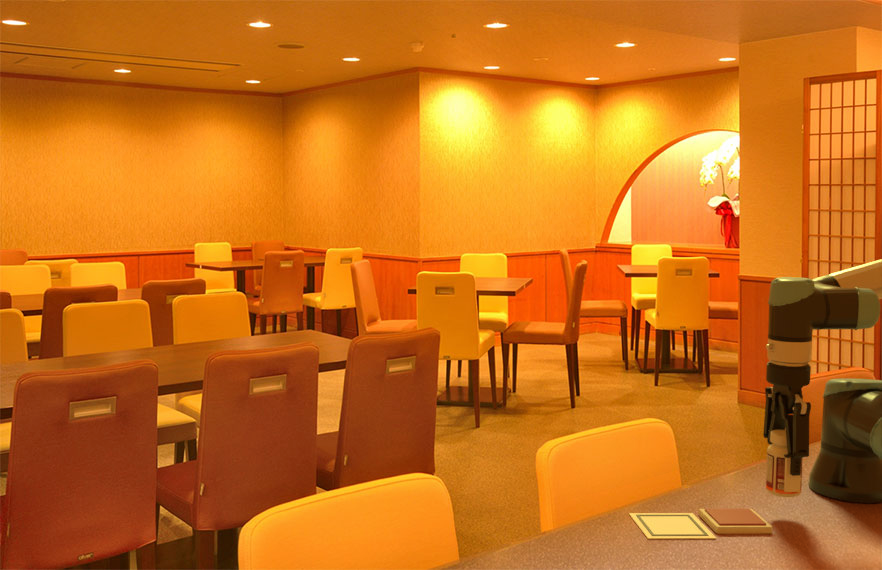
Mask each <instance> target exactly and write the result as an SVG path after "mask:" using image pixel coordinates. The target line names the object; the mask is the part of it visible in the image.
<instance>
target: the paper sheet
mask: <svg viewBox="0 0 882 570" xmlns="http://www.w3.org/2000/svg"><path fill="white" fill-rule="evenodd" d="M628 515H629V517H630V518H631V519H632V520H633V522H634V523H635V525H637V527H638V529H640V531H641V532H642V534H644V536H645V537H646V539H647V540H717V537H716V536H715V534H713V533H712V532H711V531H710V529H708V527H707V526H706V525H705V524H703V522H702V521H701V520H700V519H699V518H698V517H697V516H696V515H695V514H694V513H693V512H680V513H679V512H669V513H668V512H662V513H661V512H648V513H647V512H644V513H643V512H634V513H633V512H632V513H631V512H629V513H628Z"/></svg>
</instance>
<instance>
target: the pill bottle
mask: <svg viewBox="0 0 882 570" xmlns="http://www.w3.org/2000/svg"><path fill="white" fill-rule="evenodd" d="M770 442H772V443H773V444H771V445H770V444H768V447H767V450H766V474H765V475H766V476H765V477H766V478H765V488H766V489H765V490H766V492H767V493H769V494H770V495H773V496H775V497H779V498H780V497H781V498H795V497H799V496H800V495H801V494H802V485H803V484H802V481H803V480H802V479H803V460H802V461H801V484H800V492H785V491H784V475H785V457H784V455H785V454H788V449H787V439H786V429H785V430H772V431H771V433H770Z"/></svg>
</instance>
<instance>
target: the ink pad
mask: <svg viewBox="0 0 882 570" xmlns="http://www.w3.org/2000/svg"><path fill="white" fill-rule="evenodd" d="M698 516H699V517H700V518H701V519H702V520H703V521H704V523H706V525H708V526H709V528H710V529H711V530H712V531H713V532H714V533H715V534H719V535H721V534H724V535H726V534H728V535H729V534H731V535H732V534H734V535H735V534H740V535H741V534H747V535H748V534H773V526H772V525H771V523H768V521H766V520H765V518H762V516H761V515H759V514H758V513H757V512H756V511H754V510H753V508H699V509H698Z"/></svg>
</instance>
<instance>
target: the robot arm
mask: <svg viewBox="0 0 882 570" xmlns="http://www.w3.org/2000/svg"><path fill="white" fill-rule="evenodd" d="M880 300H882V258H881V259H878V260H873V261H870V262H867V263H863V264H860V265H857V266H852V267H850V268H846V269H843V270H840V271H836V272H832V273H830V274H826V275H822V276H818V277H814V278H812V279H811V278H808V277H798V276H797V277H793V276H781V277H776V278H774V279H773V280H771V282H770V288H769V295H768V300H767V301H768V302H767V303H768V327H767V328H768V329H767V330H768V331H767V344H765V349H766V350H767V355H766V356H767V359H768V360H769V361H768V362H767V363H766V370H765V371H766V373H765V375H766V377H765V379H766V382H767V383H768V384H771V385H773V386H771V387H769V386H767V387H765V389H764V392H765V407H764V421H763V433H762V434H763V438H764V439H766V440H767V441H766V442H767V444H768V445H771V444H773V443H772V442H770V433H771V431H772V430H786V439H787V449H788V454H785V455H784V457H785V475H784V491H785V492H800V484H801V461H802V462H803V458H806V457H807V458H809V456H810V414H811V409H812V404H811V402H807V401H806V402H805V401H804V400H803V399H804V395H803V390H802V388H804V387H807V386H809V385H810V383H811V372H812V371H811V370H812V366H811V365H810V364H809V363H810V362H812V351H813V350H812V348H813V331H815V330H817V331H819V330H854V331H857V330H863V329H871V328H873V327H875V326H876V324H877V323H878V321H879V319H880V317H881V303H880ZM822 398H823V404H822V419H821V420H822V421H821V434H820V436H821V437H820V448H819V449H820V450H819V452H818V455H817V457H816V459H815V461H814V463H813V465H812V469H811V470H810V473H809V477H808V487H809V488H810V490H812V491H813V492H815V493H817V494H819V495H822V496H825V497H827V498H831V499H835V500H839V501H844V502H851V503H859V504H860V503H862V504H875V503H876V504H877V503H882V380H881V379H871V378H870V379H869V378H852V377H851V378H847V377H846V378H845V377H844V378H842V377H841V378H832V379H829V380H827V381H826V383H825V387H824V391H823V396H822Z"/></svg>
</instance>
